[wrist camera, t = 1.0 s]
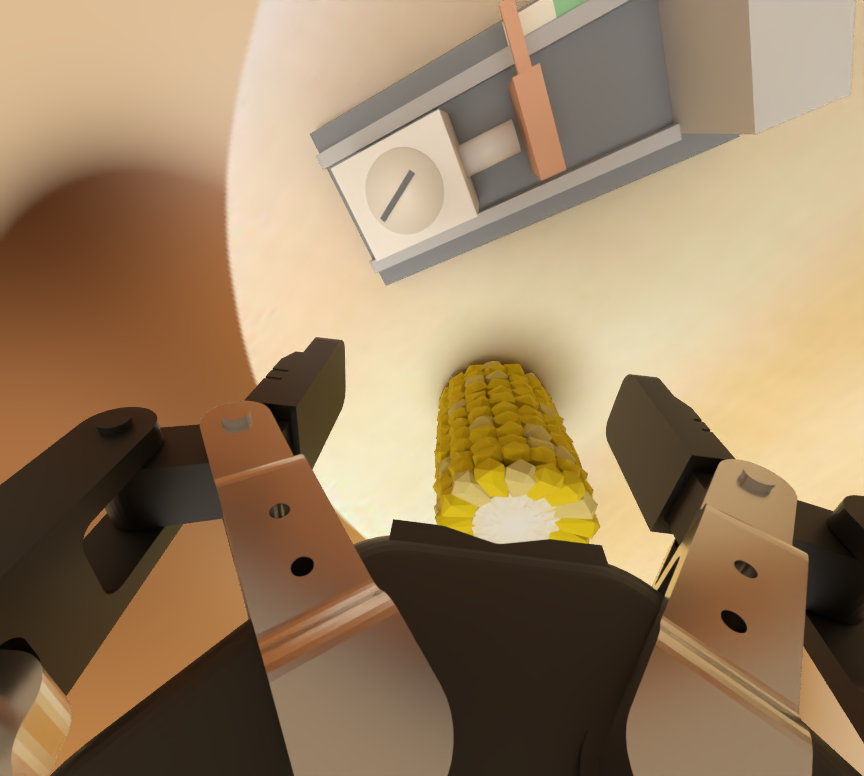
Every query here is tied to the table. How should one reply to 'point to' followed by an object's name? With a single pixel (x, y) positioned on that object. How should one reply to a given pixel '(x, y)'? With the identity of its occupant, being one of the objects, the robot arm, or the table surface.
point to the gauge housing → (419, 181)
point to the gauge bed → (608, 98)
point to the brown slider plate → (531, 101)
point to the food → (508, 461)
